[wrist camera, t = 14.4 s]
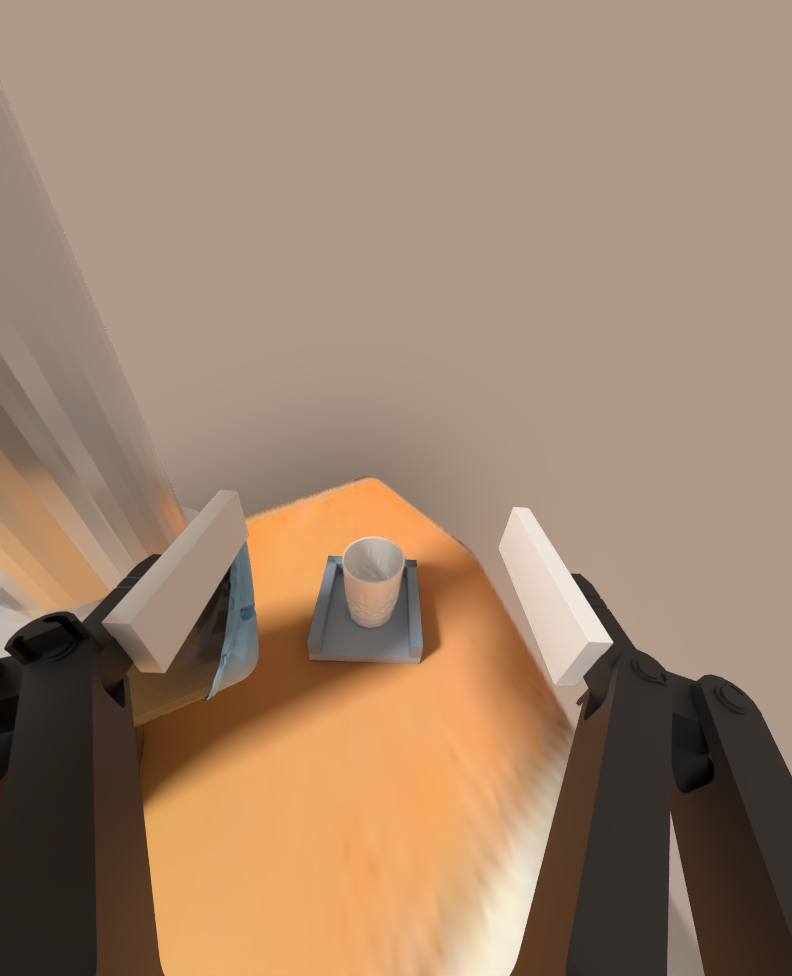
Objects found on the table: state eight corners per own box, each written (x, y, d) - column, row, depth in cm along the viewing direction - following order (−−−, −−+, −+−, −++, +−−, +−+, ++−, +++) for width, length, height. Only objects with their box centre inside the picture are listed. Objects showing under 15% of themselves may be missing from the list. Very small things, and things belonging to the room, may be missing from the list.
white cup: (398, 634, 39) (405, 585, 34) (339, 631, 39) (336, 581, 34) (398, 585, 46) (404, 538, 41) (347, 582, 46) (347, 534, 40)
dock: (419, 663, 38) (423, 646, 36) (309, 660, 37) (306, 642, 35) (413, 576, 50) (416, 560, 47) (329, 572, 49) (328, 555, 47)
